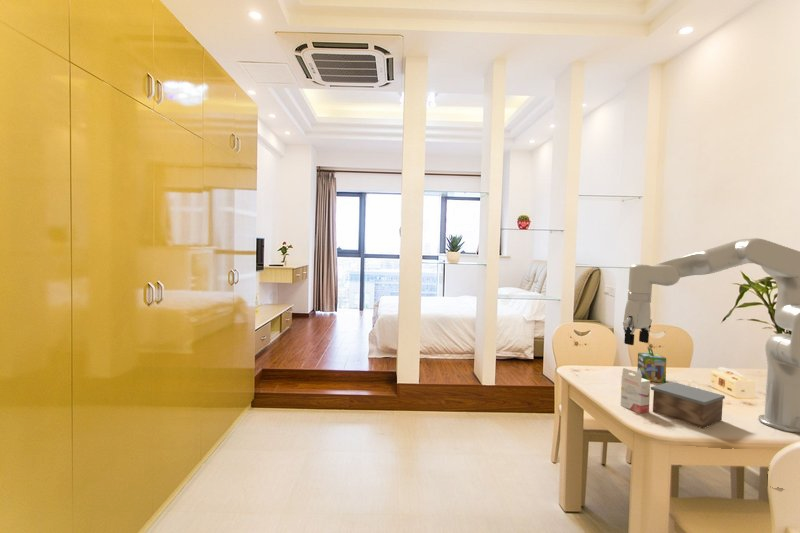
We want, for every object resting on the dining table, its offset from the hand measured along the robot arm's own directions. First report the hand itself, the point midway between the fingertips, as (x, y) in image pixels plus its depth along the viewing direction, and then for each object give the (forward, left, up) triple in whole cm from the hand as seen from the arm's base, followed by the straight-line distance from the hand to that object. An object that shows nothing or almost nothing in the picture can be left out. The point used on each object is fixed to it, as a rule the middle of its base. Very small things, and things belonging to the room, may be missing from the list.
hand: (636, 343), depth 151 cm
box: (-13, -10, -25) cm, 30 cm away
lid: (-13, -10, -16) cm, 23 cm away
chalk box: (+17, -44, -25) cm, 53 cm away
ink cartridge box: (0, 0, -25) cm, 25 cm away
